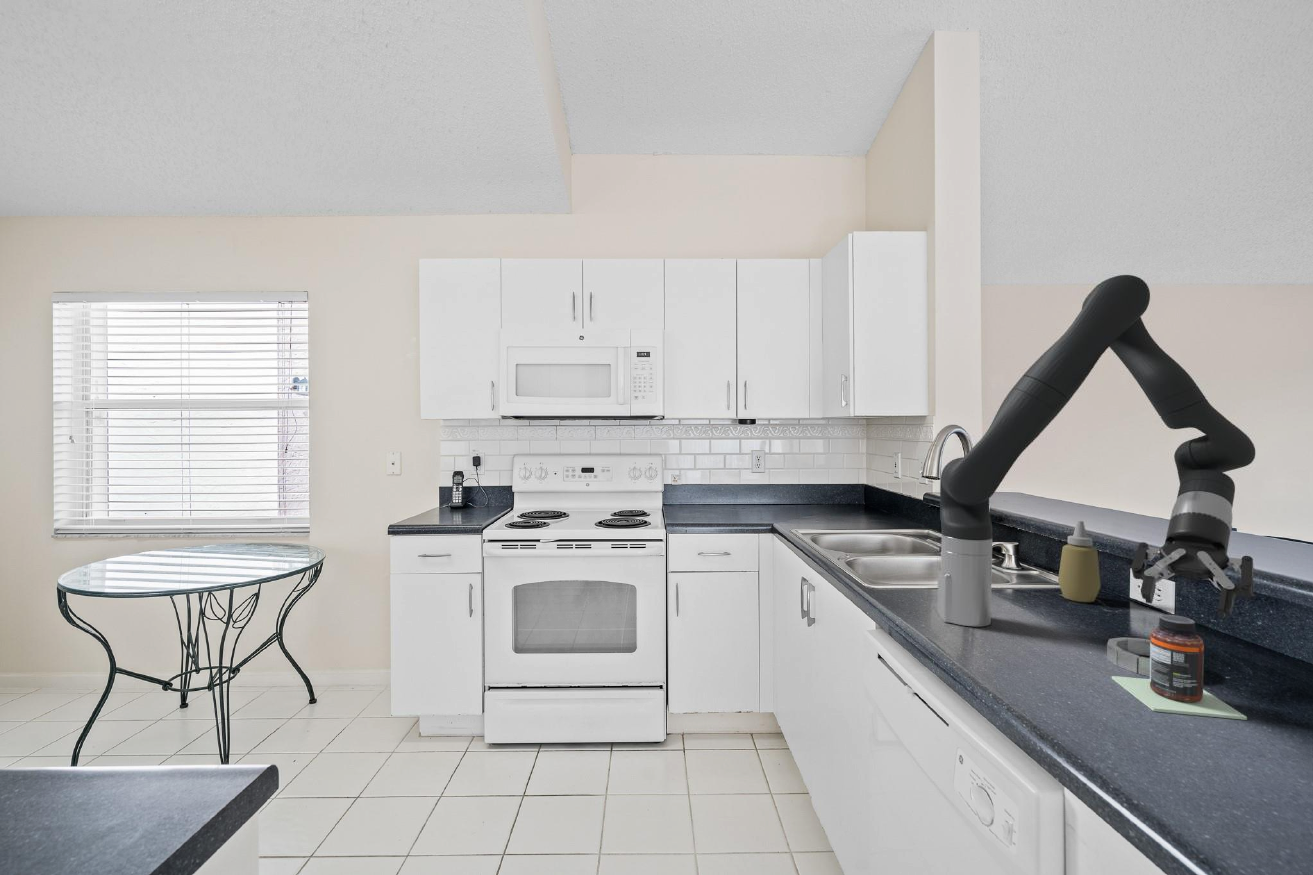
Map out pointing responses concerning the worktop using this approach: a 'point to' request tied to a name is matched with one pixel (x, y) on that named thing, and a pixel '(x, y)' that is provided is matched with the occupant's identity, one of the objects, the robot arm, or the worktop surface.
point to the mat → (1162, 704)
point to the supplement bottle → (1177, 659)
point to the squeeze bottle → (1079, 567)
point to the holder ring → (1130, 654)
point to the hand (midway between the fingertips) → (1183, 607)
